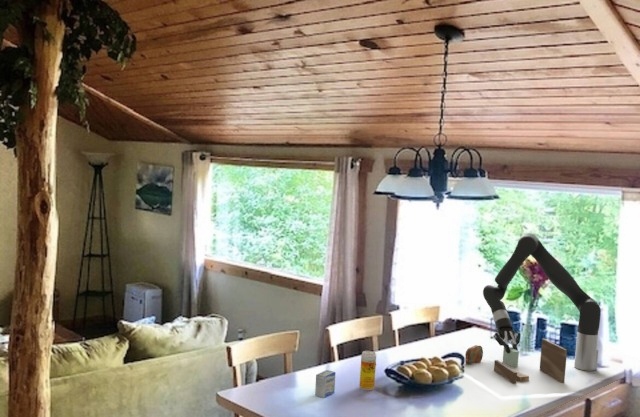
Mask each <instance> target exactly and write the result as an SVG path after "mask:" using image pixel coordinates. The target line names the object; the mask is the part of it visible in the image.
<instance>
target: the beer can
mask: <svg viewBox="0 0 640 417" xmlns="http://www.w3.org/2000/svg"><path fill="white" fill-rule="evenodd" d="M360 358H361V359H360V369H359V370H360V371H359V372H360V373H359V388H360V390H363V391H369V392H370V391H373V390H374V388H375V381H376V380H375V379H376V367H377V354H376V352H375V351H372V350H364V351H362V353H361V355H360Z"/></svg>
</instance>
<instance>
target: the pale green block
mask: <svg viewBox="0 0 640 417" xmlns="http://www.w3.org/2000/svg"><path fill="white" fill-rule="evenodd" d="M512 347H513V346H510V345H509V348H510V353H507V352H506V350H505V347H504V346H503V352H502V363H505V364H506V365H509V367H519V366H518V365H519V354H520V351H519V350H518V351H517V350H515V349H513V348H512Z"/></svg>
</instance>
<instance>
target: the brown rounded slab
mask: <svg viewBox="0 0 640 417" xmlns="http://www.w3.org/2000/svg"><path fill="white" fill-rule="evenodd" d="M483 350H484V348H483V347H482V346H481V345H478V344H477V345H473V346H471V347H468V348H467V350H466V351H465V357H464V358H465V364H466V365H470V366H471V365H472V364H480V363H481V362H482V360H483V357H484V351H483Z"/></svg>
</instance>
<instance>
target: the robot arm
mask: <svg viewBox="0 0 640 417" xmlns="http://www.w3.org/2000/svg"><path fill="white" fill-rule="evenodd" d="M530 256H531V257H532V258H533V259H534V260H535V261H536V262H537V263H538V265H539V267H540V269H541V270H542V272H543V274H544V275H545V277H546V278H547V280H549V282H551V283H552V285H553V286H554V287H555V288H556V289H557V290H559V291H560V292H561V293H562V294H563V295H565V296H566V297H568V299H569V300H570V301H571V302H572V303H573V305H574V306H575V307H576V309H577V310H578V312H579V316H578V325H577V330H576V331H577V333H576V341H575V342H576V343H575V344H576V345H575V354H574V356H575V357H574V365H573V366H574V368H575V369H577V370H581V371H588V372H590V371H596V370H598V369H597V368H598V360H599V359H598V358H599V350H598V348H597V347H598V338H599V336H598V335H599V330H600V323H601V312H602V311H601V307H600V305H599V303H598V302H597V301H596V300H594V299H593V298H592V297H591V296H590V295H588V293H586V291H584V290H583V288H581V287H580V285H579V284H578V282H577V281H576V280H575V278H574V277H573V275H572V274H570V272H569V271H568V270H567V269H566V268H565V267H564V266H563V265H562V264H561V263H560V262H559V261H558V260H557V258H555V256H553V255H552V254H551V253H550V252H549V251H548V250H547V249H546V247H545V246H544V245H543V243H542V242H541V241H540V239H539V238H538V237H537V235H535V234H534V233H532V232H526V233H523V234H522V235H520V237H519V239H518V240H517V245H516V246H515V248H514V251H513V252H512V254H511V256H510V257H509V259H508V260H507V261H506V262H505V263H504V265H503V266H502V268H501V269H500V270H499V272H498V273H497V275H496V276H495V278H494V281H495V283H496V284H497V286H495V285H491V284H487V285H485V286H484V287H483V290H482V295H483V298H484V300H485V301H486V303H487V305H488V306H489V308H490V311H491V313H492V316H493V317H492V318H493V322H494V324H495V328H496V331H497V332H495V333H494V334H493V338H494V340H495V341H496V342H497V343H498V344H499V346H503V348H504V347H505V350H506V352H507V353H510V348H509V346H510V345H511V347H512V348H513V349H515V350H517V351H519V349H518V345H519V344H520V343H521V342H520V340H521V333H517V332H515V330H513V324H512V321H511V318H510V315H509V313H508V311H507V308H506V305H505V303H504V302H503V301H502V300H503V298H504V297H505V294H506V292H507V290H508V286H509V285H510V282H511V281H512V280H513V278H514V277H515V275H516V274H517V272H518V271H519V269H520V268H521V266H522V265H523V263H524V262H525V261H526V259H528V258H529V257H530ZM509 343H510V345H509Z"/></svg>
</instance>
